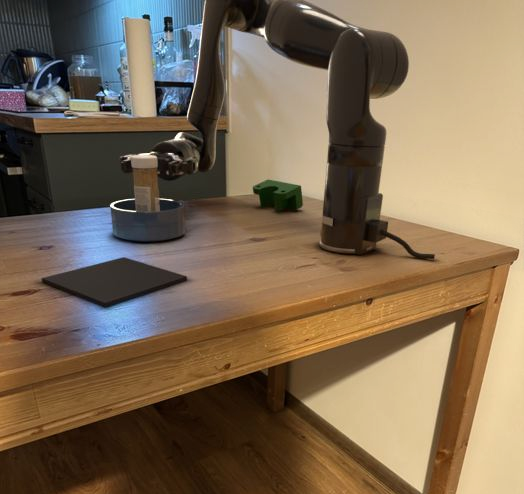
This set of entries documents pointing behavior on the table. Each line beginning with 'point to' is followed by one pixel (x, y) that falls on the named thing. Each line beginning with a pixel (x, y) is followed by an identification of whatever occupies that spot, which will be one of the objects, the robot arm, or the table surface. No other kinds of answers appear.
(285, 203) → the clamp
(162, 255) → the table surface
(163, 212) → the bowl
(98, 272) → the mat
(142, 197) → the sprinkles bottle
